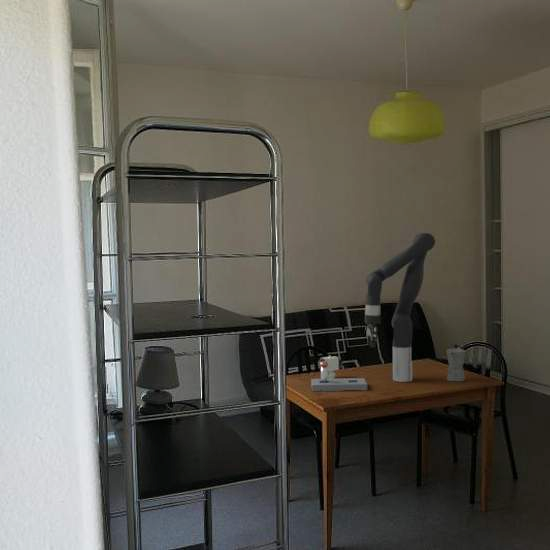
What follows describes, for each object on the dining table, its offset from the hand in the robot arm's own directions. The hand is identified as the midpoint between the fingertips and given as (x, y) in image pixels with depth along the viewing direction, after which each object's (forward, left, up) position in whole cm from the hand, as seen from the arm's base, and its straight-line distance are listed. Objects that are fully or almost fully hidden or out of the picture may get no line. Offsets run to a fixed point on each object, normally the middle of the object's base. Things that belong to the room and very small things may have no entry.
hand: (371, 346), depth 312 cm
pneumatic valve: (+21, -7, -18) cm, 28 cm away
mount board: (+18, +12, -18) cm, 28 cm away
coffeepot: (-42, 0, -18) cm, 46 cm away
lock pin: (+25, +12, -18) cm, 33 cm away
